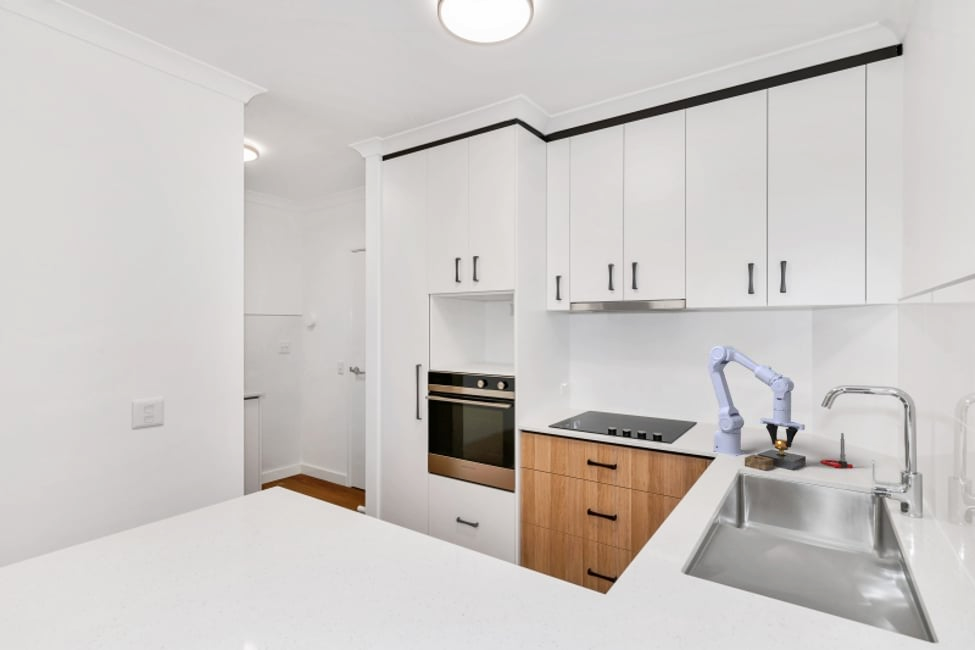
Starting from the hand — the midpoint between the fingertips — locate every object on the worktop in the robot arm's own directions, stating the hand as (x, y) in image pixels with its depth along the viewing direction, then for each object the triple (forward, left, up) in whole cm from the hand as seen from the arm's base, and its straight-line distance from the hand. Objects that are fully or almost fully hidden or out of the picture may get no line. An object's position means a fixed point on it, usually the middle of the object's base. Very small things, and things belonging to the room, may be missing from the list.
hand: (781, 445), depth 180 cm
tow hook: (+12, +17, -8) cm, 22 cm away
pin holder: (-3, -12, -7) cm, 14 cm away
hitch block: (0, 0, -7) cm, 7 cm away
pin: (0, 0, -4) cm, 4 cm away
